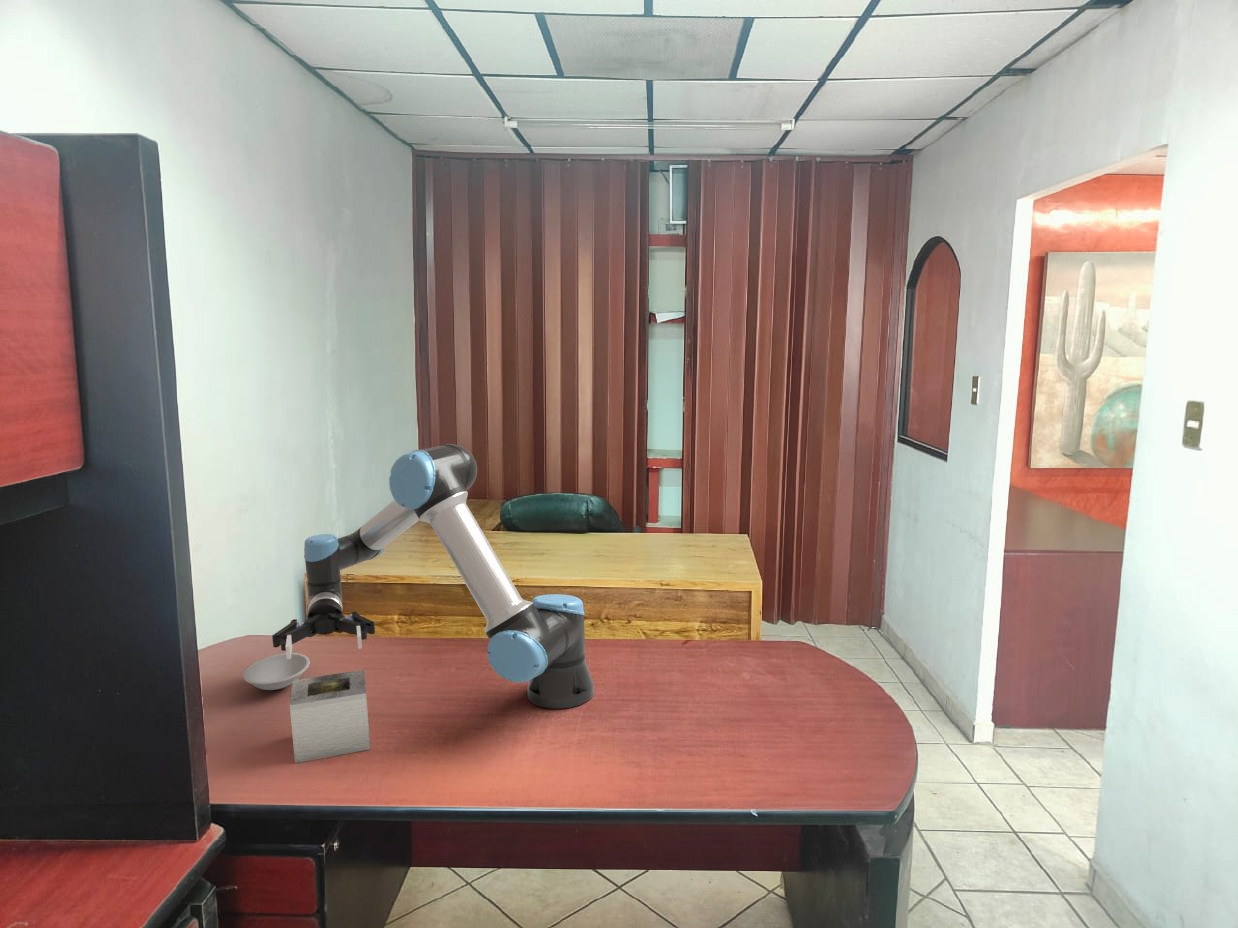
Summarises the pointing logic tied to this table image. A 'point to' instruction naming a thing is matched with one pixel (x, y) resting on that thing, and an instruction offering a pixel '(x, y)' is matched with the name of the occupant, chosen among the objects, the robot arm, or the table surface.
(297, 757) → the grey tissue box
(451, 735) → the table surface
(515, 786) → the table surface
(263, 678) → the dish
